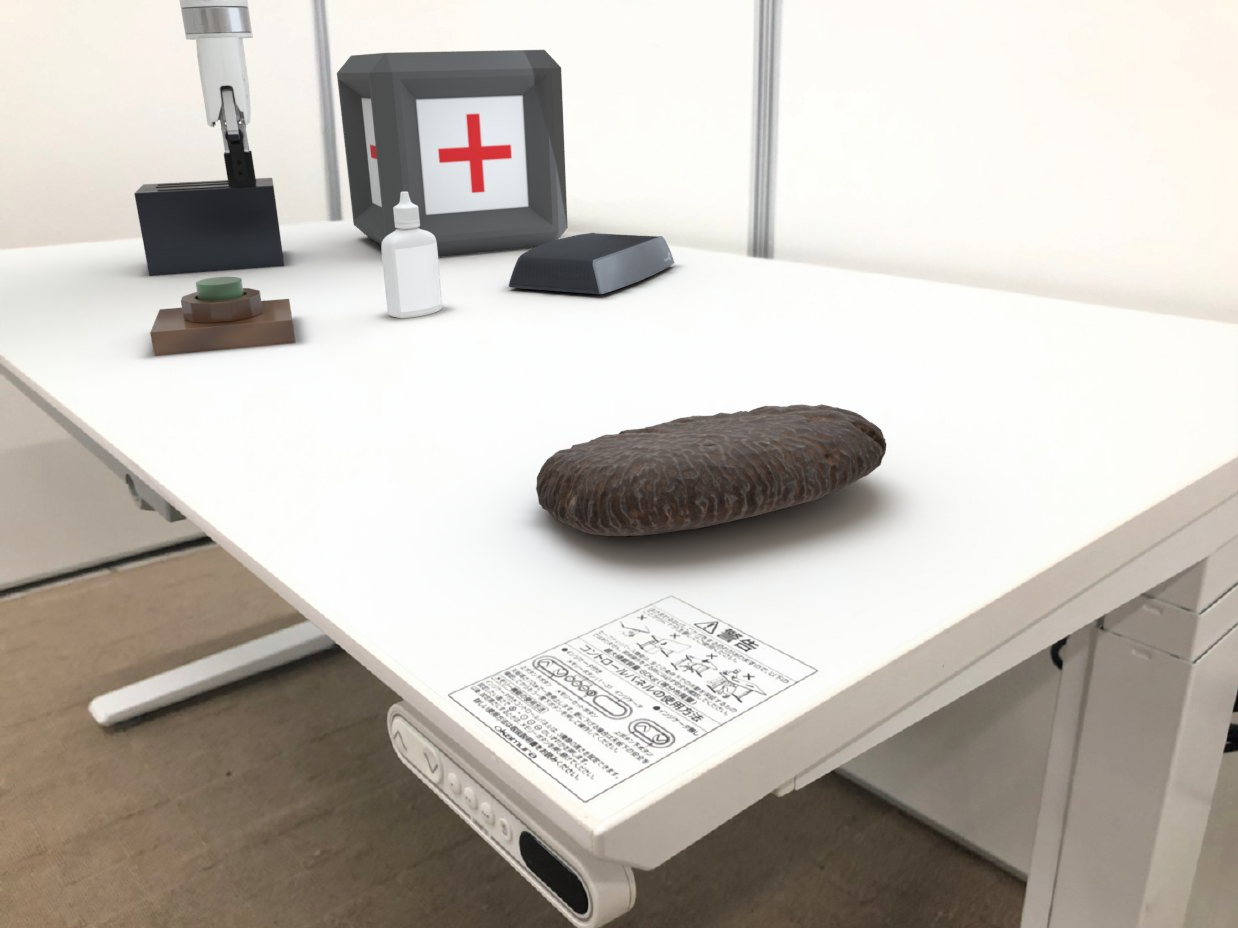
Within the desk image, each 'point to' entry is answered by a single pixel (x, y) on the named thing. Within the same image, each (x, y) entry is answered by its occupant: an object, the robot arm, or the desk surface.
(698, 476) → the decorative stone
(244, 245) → the toaster
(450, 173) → the first aid kit
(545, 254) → the hard drive
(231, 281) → the button
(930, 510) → the desk surface
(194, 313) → the brown button base
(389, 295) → the eye dropper bottle
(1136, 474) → the desk surface
